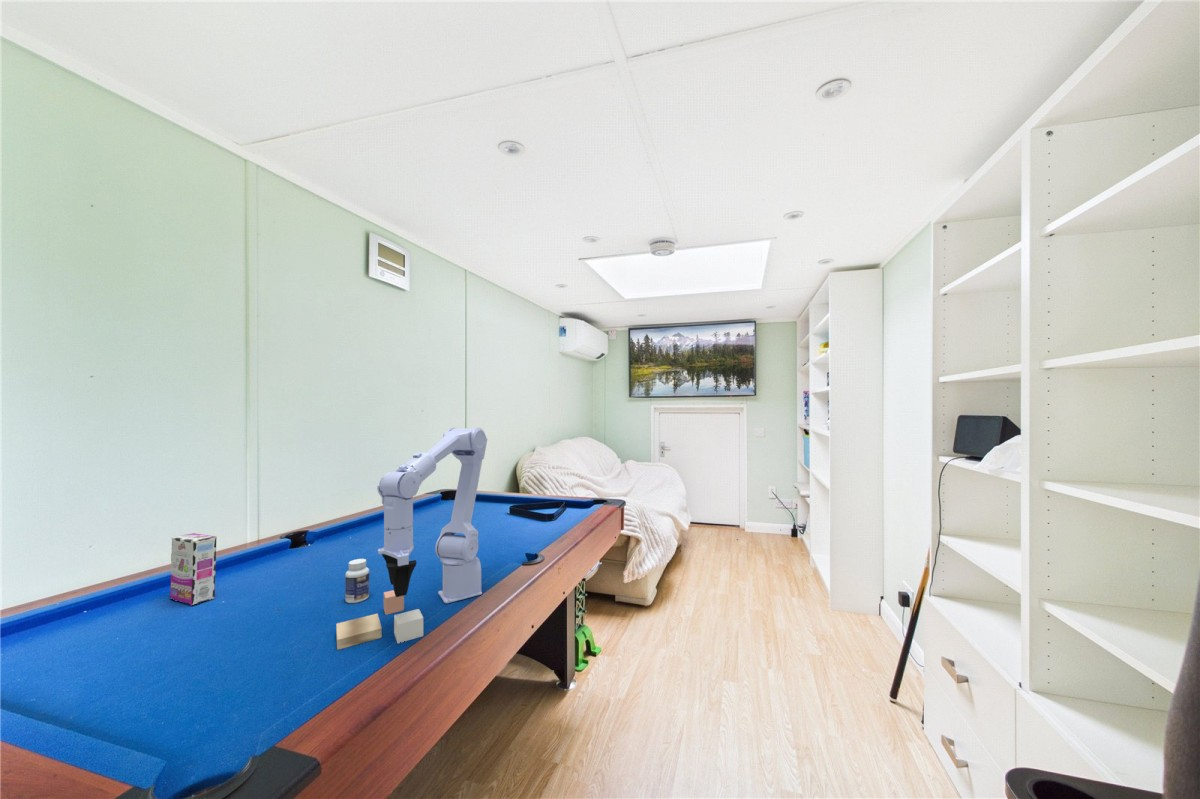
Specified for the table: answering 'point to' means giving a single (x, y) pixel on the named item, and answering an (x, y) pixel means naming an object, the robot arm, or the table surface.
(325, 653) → the table surface
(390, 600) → the terracotta cube
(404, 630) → the cream cube
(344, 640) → the oak slab
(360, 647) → the table surface
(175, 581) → the candy bar box
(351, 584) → the pill bottle
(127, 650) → the table surface
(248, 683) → the table surface
